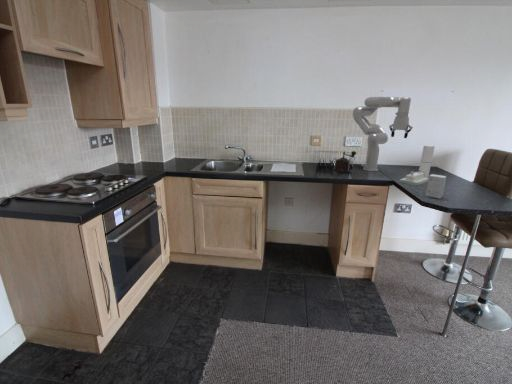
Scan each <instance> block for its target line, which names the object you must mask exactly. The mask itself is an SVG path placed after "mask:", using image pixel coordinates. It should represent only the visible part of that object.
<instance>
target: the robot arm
mask: <svg viewBox="0 0 512 384" xmlns="http://www.w3.org/2000/svg"><path fill="white" fill-rule="evenodd" d="M411 101H412V98H411V97H407V96H405V97H403V96H402V97H400V96H397V97H396V96H369V97H367V98H365V100H364V106H363V105H362V106H356V107H354V108H353V111H352V119H353V120H354V122H355V123H356V124H357V125H358V126H359V128H360V130H361V131H362V133H363V134H364V135H366V136H367V149H366V150H367V151H366V155H365V156H366V157H365V163H361V165H360V166H361V167H363V168H362V170H364V171H368V172H378V171H379V168H378V160H379V154H380V146H379V145H383V144H384V145H385V144H386V143H387V142H388V140H389V137H388V134H387V133H386V131H385V130H384V128H382V127H381V125H380V124H378V123H377V124H376V123H375V124H374V123H371V122H369V120H368V119H367V117H370V116H372V115H374V113H375V112H376V111H377V110H378V109H381V108H397V112H395V115H396V116H395V117H394V120H393V123H392V124H391V125H388V127H389V131H390V132H391V133H390V137H391V138H394V137H395V131H396V130H397V131H404V137H403V138H404V139H407V138H408V135H409V133H410V132H411V131H412V130H413V128H414V127H413V126H412V125H410V123H409V122H410V117H409V113H410V107H411Z"/></svg>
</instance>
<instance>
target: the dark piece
mask: <svg viewBox="0 0 512 384" xmlns="http://www.w3.org/2000/svg"><path fill="white" fill-rule="evenodd" d="M355 155H357V151H355V150H353V151H351V154H347V153H346V151H343V155H342V157H340V158H337V159H336V160H335V166H334V167H335V169H334V172H339V173H348V172H350V165H351V160H350V159H347V158H346V157H345V156H348V157H351V158H355Z"/></svg>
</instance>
